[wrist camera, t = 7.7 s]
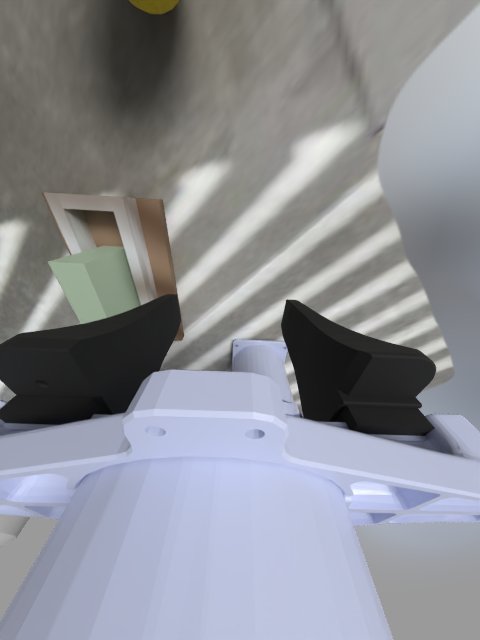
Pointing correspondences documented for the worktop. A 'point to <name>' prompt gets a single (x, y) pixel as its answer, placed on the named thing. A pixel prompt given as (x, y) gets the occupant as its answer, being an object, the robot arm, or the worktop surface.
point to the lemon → (155, 5)
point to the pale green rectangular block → (97, 282)
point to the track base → (120, 236)
